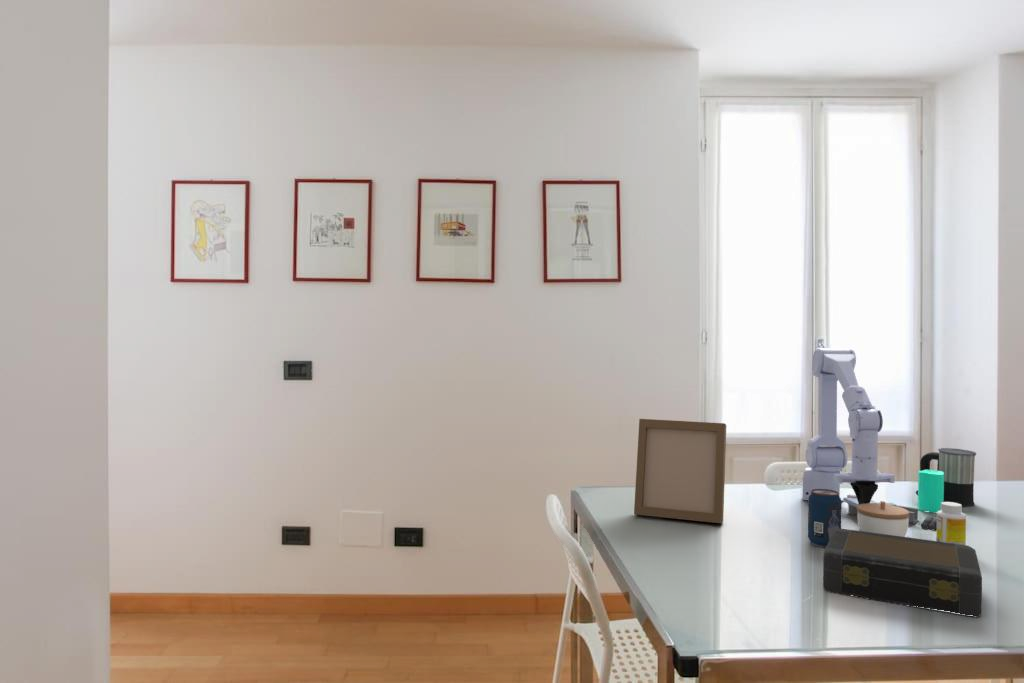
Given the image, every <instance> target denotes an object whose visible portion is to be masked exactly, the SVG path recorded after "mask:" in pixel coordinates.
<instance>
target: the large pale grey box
mask: <svg viewBox="0 0 1024 683" xmlns="http://www.w3.org/2000/svg"><path fill="white" fill-rule="evenodd" d="M876 502H877V503H879V502H878V501H876ZM847 504H848V503H847ZM896 505H897V506H898V507H901V508H904V509H906V510H908V511H909V523H908V525H911V526H912V525H913V526H914V525H915V524H916V523H917V522H918V520H919V509H918V507H913V506H906V505H905V506H904V505H898V504H896ZM847 508H848V509H847V510H848V511H847V512H848V515H849V514H850V515H849V516H855V517H857V507H854V506H852V505H850V504H848V505H847Z"/></svg>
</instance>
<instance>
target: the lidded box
mask: <svg viewBox="0 0 1024 683" xmlns="http://www.w3.org/2000/svg"><path fill="white" fill-rule="evenodd" d="M846 496H847V497H843V498H844V500H843V502H844V503H845V504H850V505H852V506H854V507H857V506H858V505H859V503H858V500H857V497H856V494H846ZM877 502H878V501H874V500H872V499H871V501H870V503H877ZM877 504H880V502H878V503H877ZM885 504H887V505H893V506H897V505H898V504H896V503H893V502H885Z"/></svg>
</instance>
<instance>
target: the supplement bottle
mask: <svg viewBox="0 0 1024 683" xmlns="http://www.w3.org/2000/svg"><path fill="white" fill-rule="evenodd" d="M962 510H963V506H962V505H961V504H958V503H954V502H942V503H941V510H940V511H938V512H937V513H936V516H937V529H935V530H936V531H935V533H936V535H935V536H936V538H935V539H936V540H935V541H938V542H946V543H953V544H961V545H966V542H967V541H966V538H967V535H966V534H967V533H966V531H967V530H966V529H967V528H966V527H967V517H966V516H967V515H966V514H965V513H964V512H963V511H962Z"/></svg>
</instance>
